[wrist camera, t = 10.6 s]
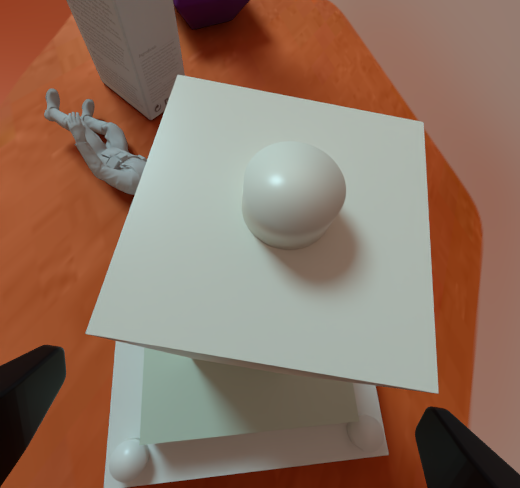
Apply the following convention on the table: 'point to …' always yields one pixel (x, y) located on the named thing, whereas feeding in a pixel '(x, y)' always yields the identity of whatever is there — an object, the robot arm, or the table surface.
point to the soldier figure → (99, 145)
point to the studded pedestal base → (229, 419)
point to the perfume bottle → (208, 11)
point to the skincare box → (133, 48)
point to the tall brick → (278, 240)
